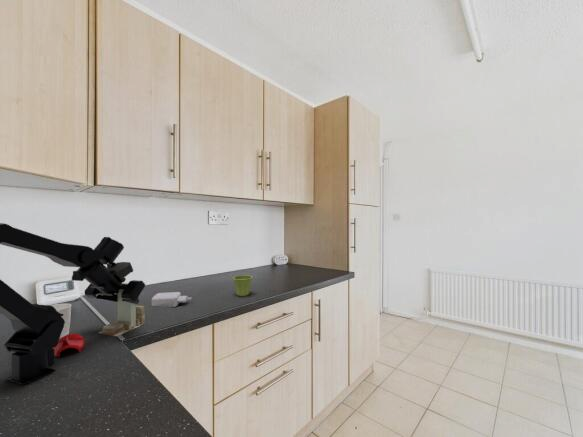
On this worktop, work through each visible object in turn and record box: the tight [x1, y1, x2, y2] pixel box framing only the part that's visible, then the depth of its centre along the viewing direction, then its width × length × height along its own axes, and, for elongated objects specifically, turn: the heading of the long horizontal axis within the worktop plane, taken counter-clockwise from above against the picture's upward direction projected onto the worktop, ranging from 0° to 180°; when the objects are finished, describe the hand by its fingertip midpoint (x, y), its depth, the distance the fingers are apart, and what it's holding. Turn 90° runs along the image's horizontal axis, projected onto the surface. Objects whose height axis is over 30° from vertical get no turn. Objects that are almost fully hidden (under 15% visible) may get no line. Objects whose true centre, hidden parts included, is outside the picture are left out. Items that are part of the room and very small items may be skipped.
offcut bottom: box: [101, 326, 125, 336], centre depth 84 cm, size 4×5×1 cm
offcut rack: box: [98, 304, 146, 337], centre depth 87 cm, size 10×8×7 cm
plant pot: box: [232, 274, 253, 297], centre depth 130 cm, size 9×9×9 cm
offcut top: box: [102, 321, 123, 331], centre depth 84 cm, size 3×4×1 cm
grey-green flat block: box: [117, 282, 137, 327], centre depth 88 cm, size 2×6×14 cm, turn 71°
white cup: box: [48, 303, 72, 339], centre depth 81 cm, size 8×8×10 cm
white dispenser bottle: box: [151, 291, 193, 308], centre depth 115 cm, size 5×9×15 cm
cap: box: [53, 333, 86, 358], centre depth 71 cm, size 8×6×6 cm
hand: (130, 302), depth 89 cm, fingers closed on grey-green flat block, 6 cm apart
